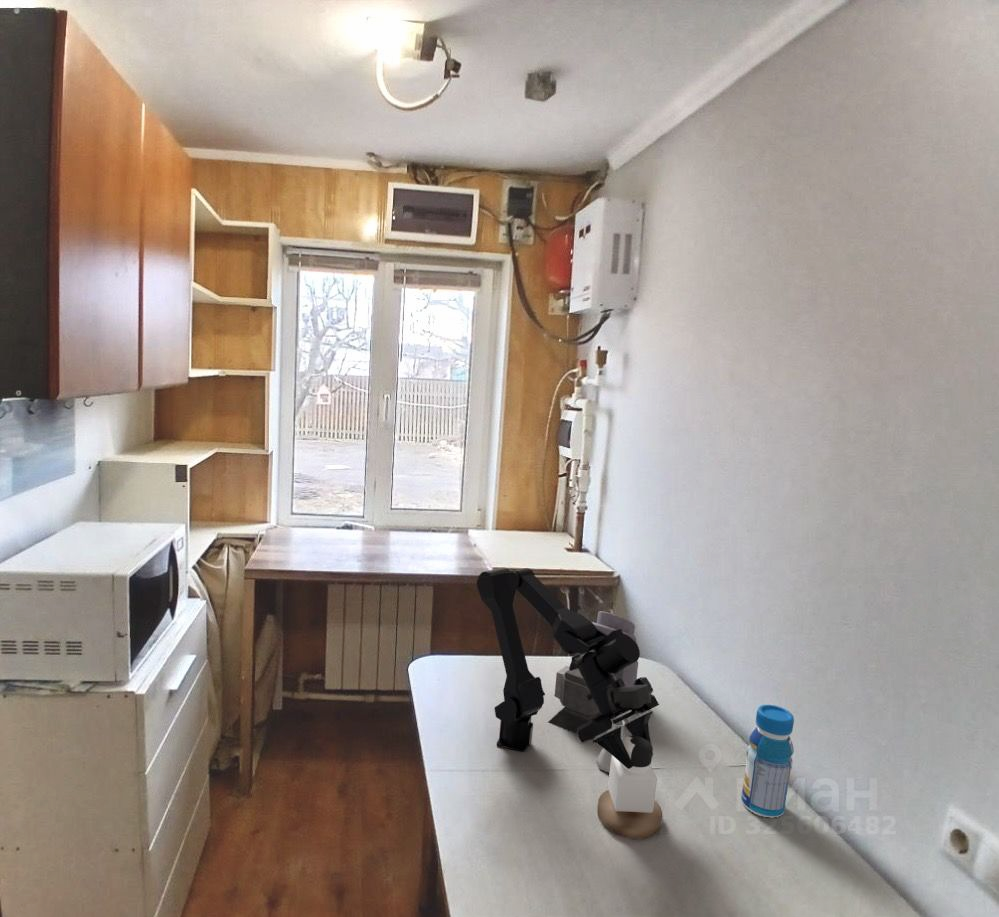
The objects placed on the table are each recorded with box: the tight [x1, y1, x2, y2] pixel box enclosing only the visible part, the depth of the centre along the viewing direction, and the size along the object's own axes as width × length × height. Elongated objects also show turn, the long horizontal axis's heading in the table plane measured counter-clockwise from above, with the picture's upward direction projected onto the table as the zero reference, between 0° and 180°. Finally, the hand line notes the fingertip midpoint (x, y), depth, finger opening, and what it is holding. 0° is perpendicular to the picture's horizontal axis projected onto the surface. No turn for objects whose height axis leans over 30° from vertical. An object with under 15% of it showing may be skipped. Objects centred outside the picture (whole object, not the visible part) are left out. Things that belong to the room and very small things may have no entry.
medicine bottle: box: [607, 735, 658, 813], centre depth 127 cm, size 7×7×12 cm
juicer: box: [547, 610, 639, 742], centre depth 168 cm, size 30×16×24 cm, turn 146°
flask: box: [595, 719, 626, 773], centre depth 144 cm, size 7×7×10 cm
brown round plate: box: [596, 789, 663, 840], centre depth 128 cm, size 12×12×2 cm
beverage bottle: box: [740, 704, 795, 819], centre depth 134 cm, size 8×8×20 cm
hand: (640, 762), depth 126 cm, fingers closed on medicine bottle, 6 cm apart
